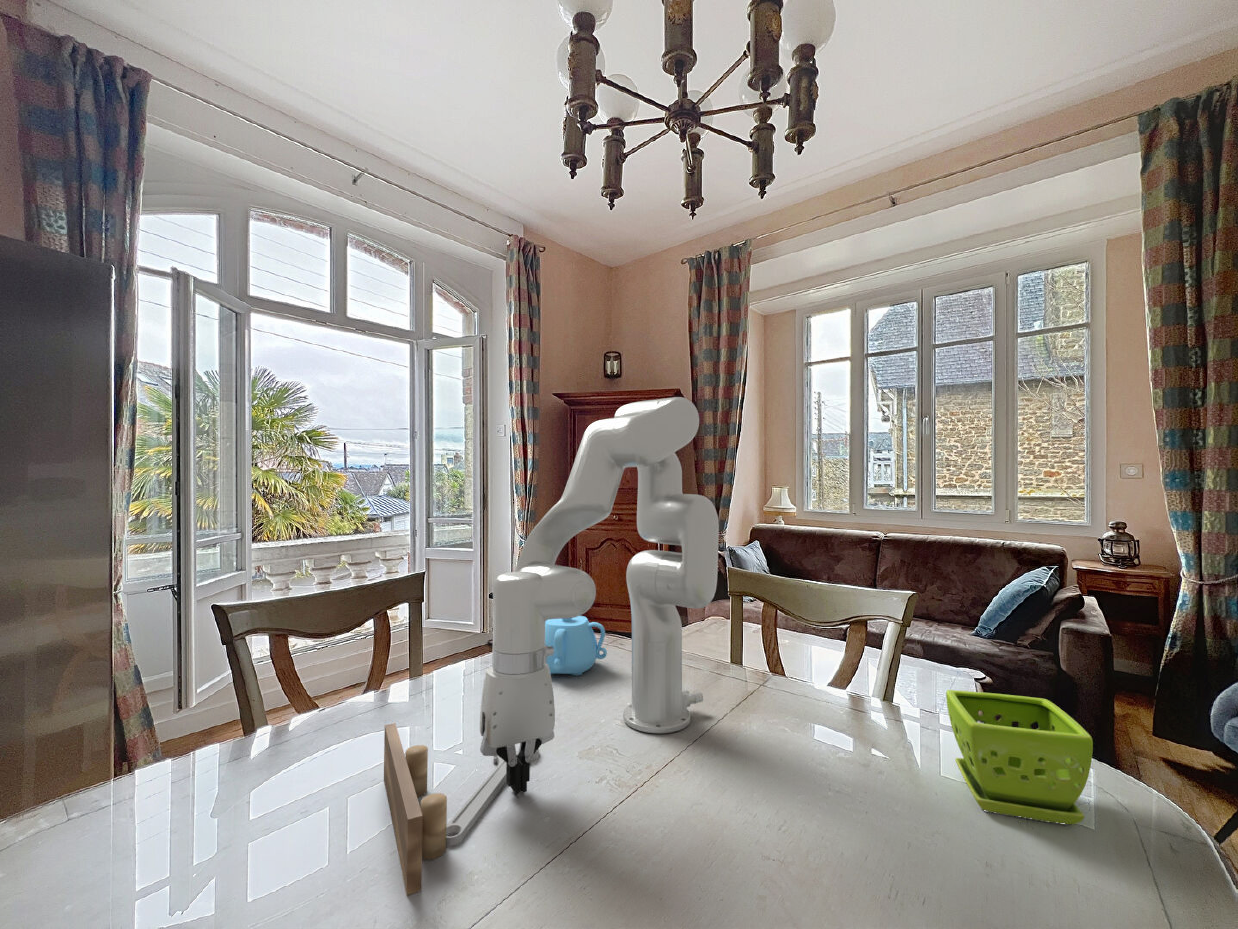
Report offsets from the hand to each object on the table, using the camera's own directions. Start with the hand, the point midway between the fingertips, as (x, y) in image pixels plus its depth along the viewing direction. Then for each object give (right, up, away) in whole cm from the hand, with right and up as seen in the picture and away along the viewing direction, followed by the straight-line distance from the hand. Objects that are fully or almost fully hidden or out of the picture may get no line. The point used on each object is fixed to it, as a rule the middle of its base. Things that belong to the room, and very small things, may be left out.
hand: (517, 788), depth 77 cm
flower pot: (+70, -1, -2) cm, 70 cm away
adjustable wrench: (-4, -1, +1) cm, 5 cm away
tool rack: (-12, 0, -7) cm, 14 cm away
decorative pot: (+2, -3, +52) cm, 52 cm away
